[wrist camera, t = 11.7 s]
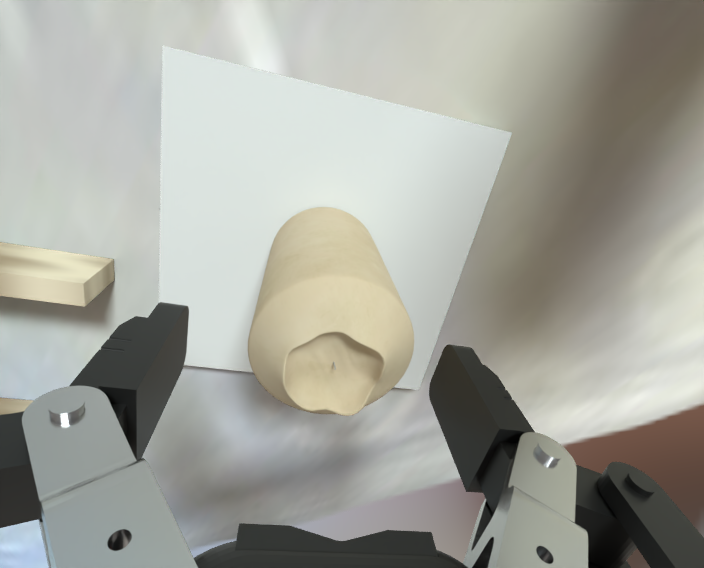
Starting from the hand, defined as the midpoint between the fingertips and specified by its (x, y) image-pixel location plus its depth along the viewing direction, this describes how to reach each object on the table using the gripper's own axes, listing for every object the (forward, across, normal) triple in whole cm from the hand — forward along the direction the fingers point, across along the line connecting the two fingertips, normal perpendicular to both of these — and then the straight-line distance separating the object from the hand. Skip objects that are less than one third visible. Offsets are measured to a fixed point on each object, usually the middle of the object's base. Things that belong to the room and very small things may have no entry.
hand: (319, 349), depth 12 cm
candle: (+9, 0, 0) cm, 9 cm away
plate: (+10, 0, 0) cm, 10 cm away
